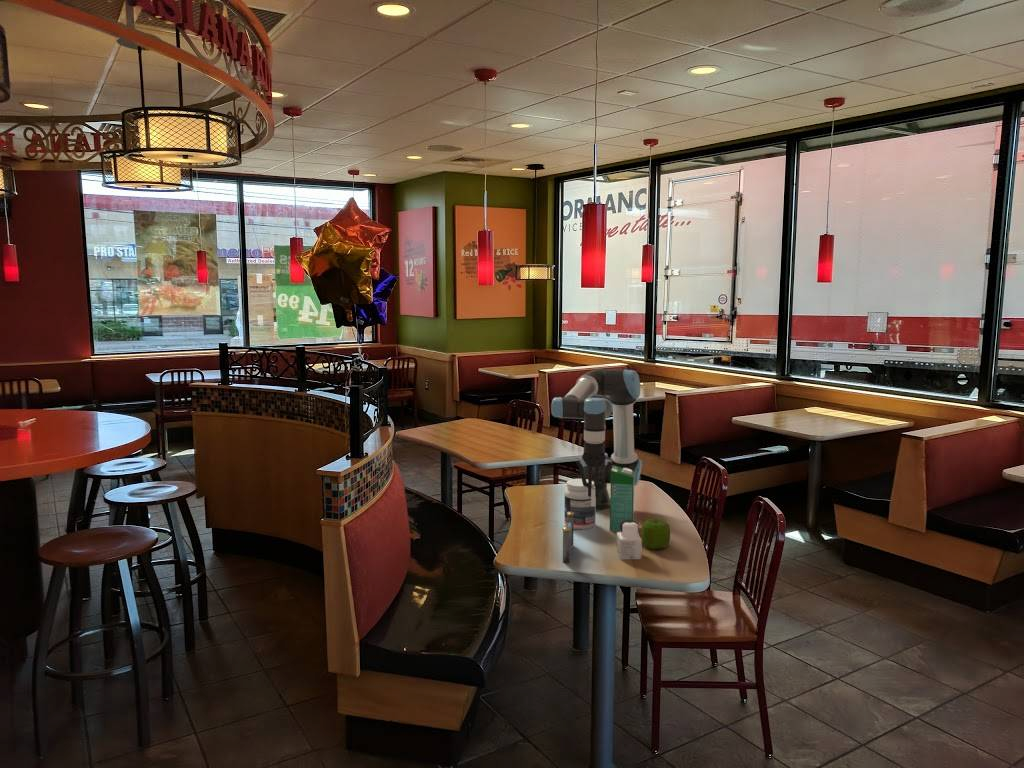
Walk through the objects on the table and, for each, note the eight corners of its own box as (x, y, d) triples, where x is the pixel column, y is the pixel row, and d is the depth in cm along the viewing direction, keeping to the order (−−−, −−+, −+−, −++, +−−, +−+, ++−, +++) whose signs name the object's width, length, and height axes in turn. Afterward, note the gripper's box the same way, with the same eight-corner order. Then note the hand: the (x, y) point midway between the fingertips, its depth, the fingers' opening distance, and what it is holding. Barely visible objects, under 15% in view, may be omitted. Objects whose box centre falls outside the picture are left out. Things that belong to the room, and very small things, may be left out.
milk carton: (632, 532, 289) (633, 471, 285) (609, 530, 290) (610, 470, 287) (633, 524, 297) (634, 465, 294) (611, 523, 299) (612, 464, 296)
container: (616, 551, 268) (617, 518, 266) (636, 551, 268) (637, 517, 266) (620, 559, 260) (620, 525, 258) (641, 559, 260) (642, 525, 259)
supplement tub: (566, 519, 304) (566, 477, 302) (596, 521, 302) (597, 478, 299) (562, 529, 292) (562, 485, 289) (594, 531, 289) (594, 487, 286)
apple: (663, 554, 266) (664, 525, 264) (636, 548, 271) (637, 520, 270) (674, 544, 275) (675, 517, 273) (647, 539, 281) (648, 512, 279)
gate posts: (566, 543, 276) (567, 511, 274) (574, 544, 276) (574, 511, 274) (561, 563, 257) (562, 528, 255) (569, 563, 256) (569, 529, 255)
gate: (567, 543, 273) (568, 521, 271) (572, 543, 272) (572, 522, 271) (566, 556, 260) (566, 534, 258) (570, 557, 259) (571, 534, 258)
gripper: (613, 439, 260) (611, 503, 263) (576, 438, 262) (576, 501, 265) (612, 444, 252) (611, 509, 256) (575, 443, 255) (574, 507, 258)
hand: (593, 505), depth 260 cm, fingers closed
